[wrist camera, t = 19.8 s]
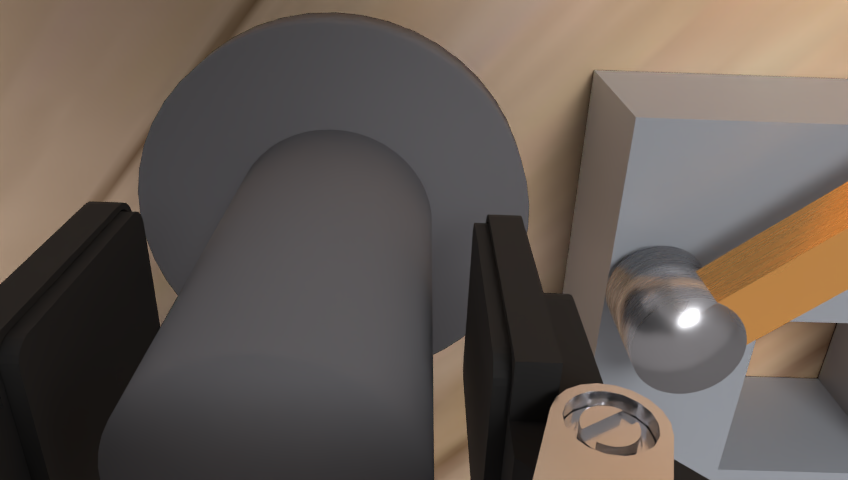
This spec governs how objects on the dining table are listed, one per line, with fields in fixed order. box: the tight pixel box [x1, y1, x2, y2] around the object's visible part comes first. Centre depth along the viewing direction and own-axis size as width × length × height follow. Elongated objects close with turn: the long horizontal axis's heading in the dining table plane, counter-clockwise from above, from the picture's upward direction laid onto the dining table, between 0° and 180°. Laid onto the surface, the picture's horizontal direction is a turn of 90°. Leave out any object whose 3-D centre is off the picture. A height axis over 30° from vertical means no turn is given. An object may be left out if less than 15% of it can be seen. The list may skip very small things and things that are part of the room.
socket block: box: [562, 70, 848, 480], centre depth 19 cm, size 12×14×4 cm
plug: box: [98, 13, 529, 480], centre depth 14 cm, size 8×8×12 cm
